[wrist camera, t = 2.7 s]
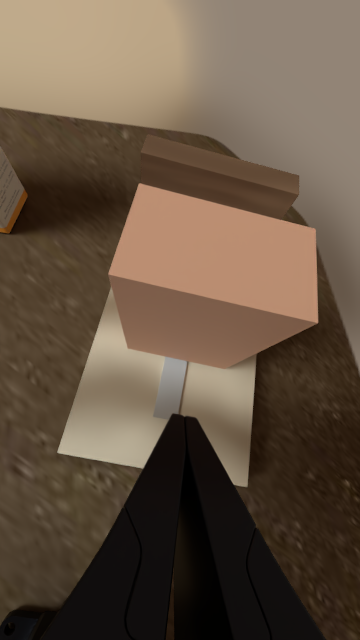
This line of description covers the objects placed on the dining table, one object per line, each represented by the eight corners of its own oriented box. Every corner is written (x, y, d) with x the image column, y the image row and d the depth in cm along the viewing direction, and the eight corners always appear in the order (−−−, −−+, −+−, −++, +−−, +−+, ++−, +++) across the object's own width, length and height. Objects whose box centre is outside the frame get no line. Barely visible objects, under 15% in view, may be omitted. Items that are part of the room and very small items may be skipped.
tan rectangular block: (224, 369, 17) (317, 323, 8) (127, 348, 17) (108, 274, 8) (230, 318, 19) (315, 229, 10) (141, 297, 18) (139, 182, 9)
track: (238, 480, 17) (323, 544, 9) (64, 448, 16) (-12, 487, 8) (256, 256, 24) (313, 179, 16) (135, 226, 23) (131, 129, 15)
